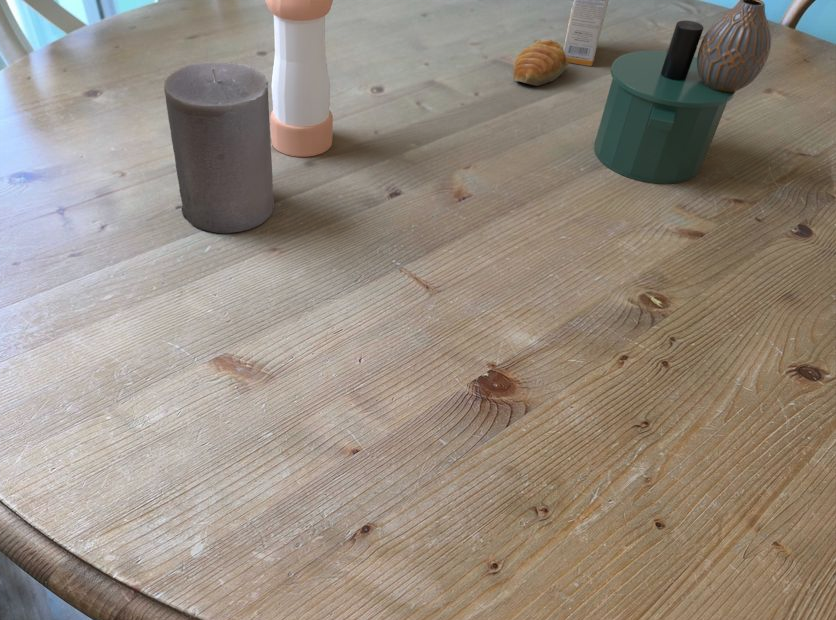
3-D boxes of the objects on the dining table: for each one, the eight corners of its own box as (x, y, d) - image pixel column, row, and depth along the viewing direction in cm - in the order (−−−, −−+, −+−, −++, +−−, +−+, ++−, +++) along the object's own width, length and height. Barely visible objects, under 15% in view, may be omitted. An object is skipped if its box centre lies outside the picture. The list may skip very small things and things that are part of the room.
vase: (754, 103, 80) (790, 18, 74) (687, 91, 81) (717, 7, 75) (752, 77, 84) (786, -4, 78) (689, 66, 86) (717, -15, 80)
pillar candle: (164, 220, 77) (138, 78, 66) (212, 174, 84) (196, 39, 73) (248, 244, 75) (235, 101, 64) (291, 195, 81) (286, 59, 71)
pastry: (545, 94, 102) (551, 66, 99) (499, 81, 104) (504, 54, 102) (568, 70, 108) (574, 43, 105) (525, 59, 110) (529, 32, 108)
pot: (704, 134, 96) (732, 61, 89) (695, 205, 83) (727, 126, 77) (605, 113, 98) (625, 41, 92) (582, 179, 86) (603, 101, 80)
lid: (734, 74, 88) (757, 15, 83) (730, 124, 79) (756, 61, 74) (617, 52, 91) (633, -6, 86) (600, 97, 82) (617, 35, 77)
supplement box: (565, 41, 116) (585, -52, 106) (596, 46, 115) (620, -47, 106) (559, 62, 110) (580, -34, 101) (592, 67, 109) (616, -29, 100)
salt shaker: (281, 123, 93) (274, -44, 79) (338, 131, 92) (341, -37, 79) (263, 152, 88) (253, -22, 74) (324, 161, 87) (324, -14, 73)
